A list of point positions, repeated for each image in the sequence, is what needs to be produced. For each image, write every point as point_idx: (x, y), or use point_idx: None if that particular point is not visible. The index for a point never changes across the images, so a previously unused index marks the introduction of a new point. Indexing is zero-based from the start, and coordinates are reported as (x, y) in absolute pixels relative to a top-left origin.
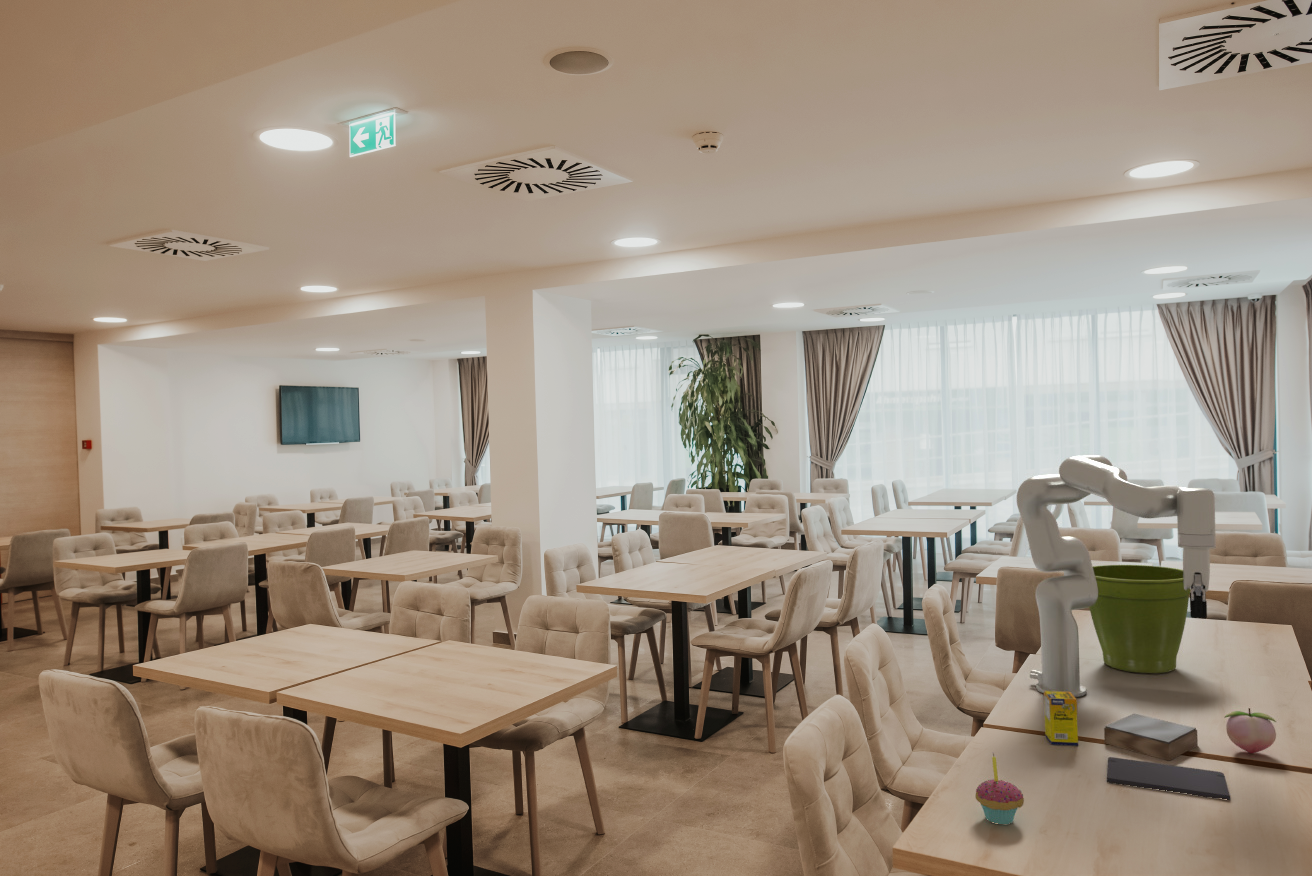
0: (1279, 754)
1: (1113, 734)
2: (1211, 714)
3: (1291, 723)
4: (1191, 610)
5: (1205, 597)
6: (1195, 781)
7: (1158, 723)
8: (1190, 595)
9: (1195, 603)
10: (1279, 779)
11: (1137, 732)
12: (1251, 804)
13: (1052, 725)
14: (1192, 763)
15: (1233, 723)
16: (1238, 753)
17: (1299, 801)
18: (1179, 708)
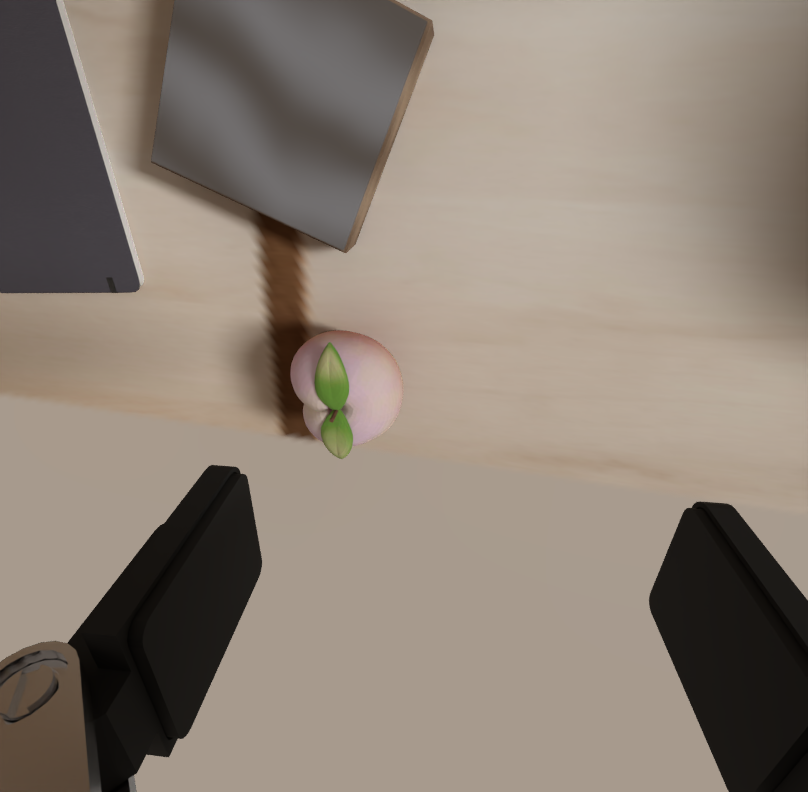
0: None
1: None
2: (689, 301)
3: (640, 472)
4: (172, 521)
5: (722, 760)
6: (29, 224)
7: (335, 127)
8: (796, 668)
9: (81, 639)
10: (210, 393)
11: (187, 47)
12: (24, 327)
13: None
14: (198, 223)
15: (301, 359)
16: None
17: (108, 407)
18: (748, 205)
